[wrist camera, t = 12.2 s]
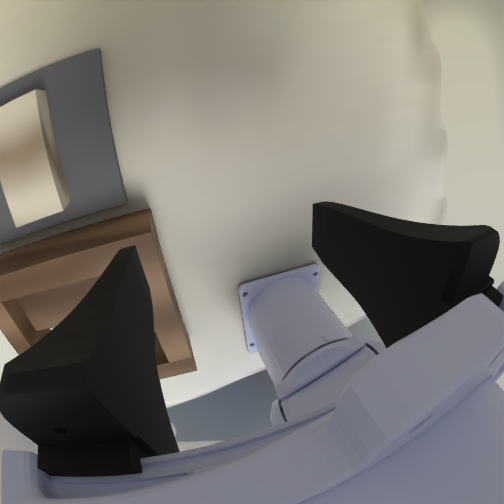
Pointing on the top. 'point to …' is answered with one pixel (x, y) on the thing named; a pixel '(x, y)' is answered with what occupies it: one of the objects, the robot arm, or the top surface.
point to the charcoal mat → (73, 140)
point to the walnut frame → (88, 285)
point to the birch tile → (30, 160)
